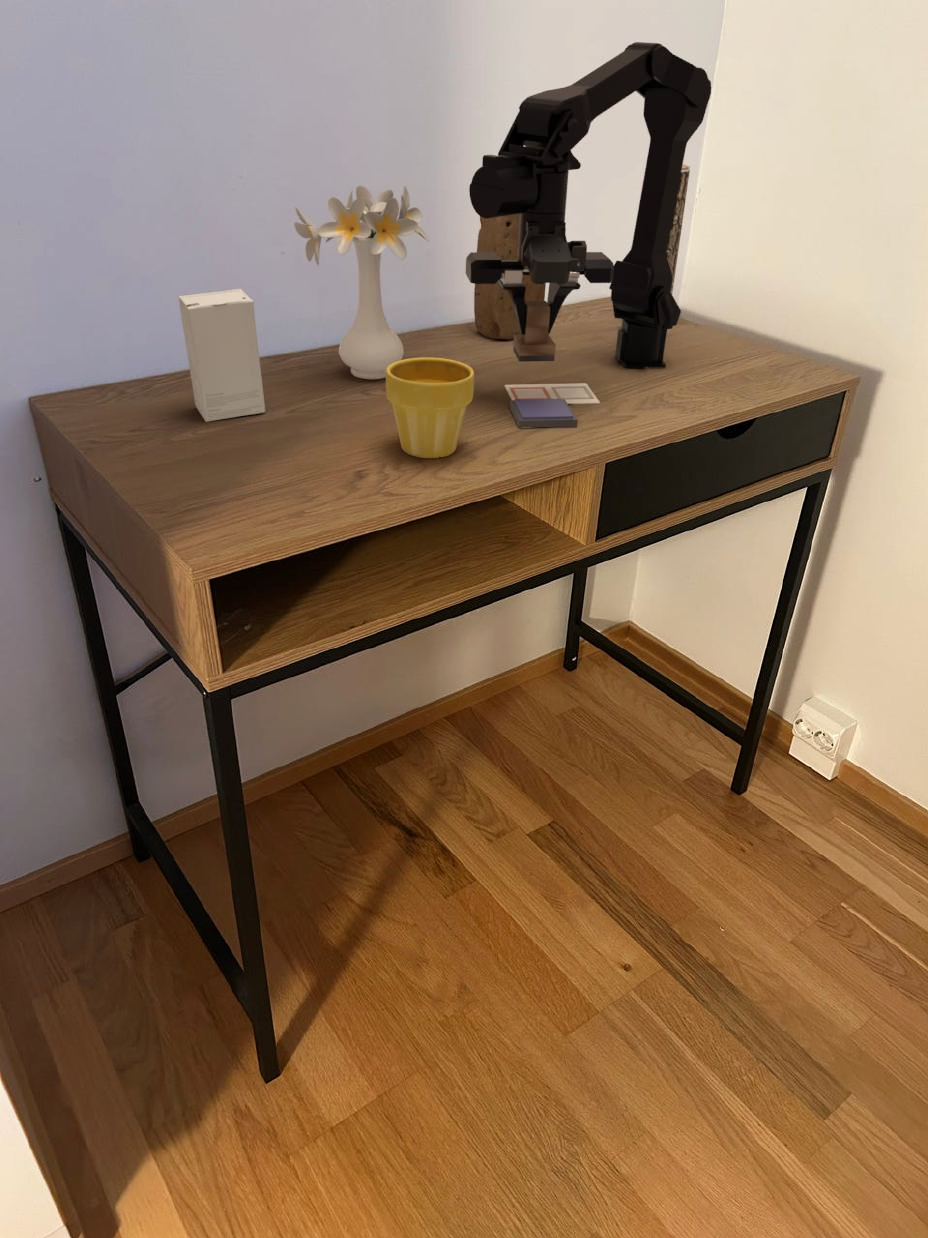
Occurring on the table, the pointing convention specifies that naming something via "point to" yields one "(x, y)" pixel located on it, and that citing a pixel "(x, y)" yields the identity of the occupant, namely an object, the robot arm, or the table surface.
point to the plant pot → (429, 403)
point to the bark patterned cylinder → (677, 222)
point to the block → (491, 299)
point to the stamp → (535, 334)
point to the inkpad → (542, 413)
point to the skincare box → (223, 353)
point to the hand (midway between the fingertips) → (534, 333)
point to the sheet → (554, 392)
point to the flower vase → (367, 270)
